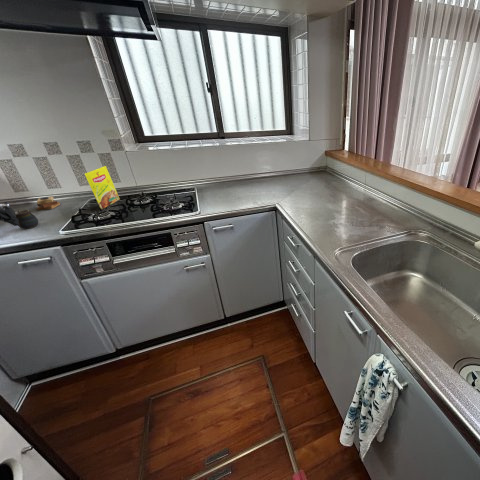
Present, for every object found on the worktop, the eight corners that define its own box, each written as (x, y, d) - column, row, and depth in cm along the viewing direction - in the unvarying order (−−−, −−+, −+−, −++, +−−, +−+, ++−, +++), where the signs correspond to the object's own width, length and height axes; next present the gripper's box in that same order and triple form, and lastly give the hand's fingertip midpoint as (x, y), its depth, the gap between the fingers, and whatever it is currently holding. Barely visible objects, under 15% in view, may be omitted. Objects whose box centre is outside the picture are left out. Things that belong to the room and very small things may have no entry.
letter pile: (33, 210, 146) (28, 201, 143) (48, 204, 154) (42, 195, 151) (51, 210, 146) (45, 201, 143) (64, 203, 154) (59, 195, 151)
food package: (102, 209, 146) (85, 173, 136) (100, 209, 146) (83, 173, 136) (120, 199, 159) (106, 165, 149) (118, 199, 159) (104, 165, 149)
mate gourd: (39, 222, 133) (27, 203, 128) (42, 226, 129) (30, 207, 124) (19, 227, 129) (6, 208, 123) (21, 232, 124) (8, 212, 119)
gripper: (-54, 212, 95) (-2, 233, 116) (-4, 205, 100) (36, 227, 121) (-55, 194, 97) (-4, 218, 118) (-6, 188, 102) (34, 212, 123)
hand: (16, 222), depth 120 cm, fingers closed
